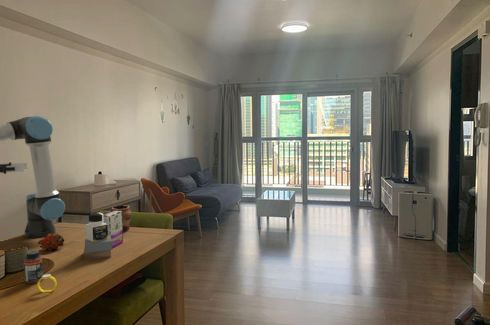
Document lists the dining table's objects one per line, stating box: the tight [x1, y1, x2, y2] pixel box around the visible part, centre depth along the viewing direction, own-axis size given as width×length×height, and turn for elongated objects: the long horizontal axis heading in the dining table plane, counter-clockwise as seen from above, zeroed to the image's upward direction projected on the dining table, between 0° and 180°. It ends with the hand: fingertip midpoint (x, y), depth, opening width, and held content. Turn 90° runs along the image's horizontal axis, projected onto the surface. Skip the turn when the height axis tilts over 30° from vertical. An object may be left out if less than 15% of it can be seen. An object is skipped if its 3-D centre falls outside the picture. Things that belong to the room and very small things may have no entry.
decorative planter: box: [109, 204, 132, 232], centre depth 207 cm, size 20×12×14 cm, turn 9°
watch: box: [36, 273, 58, 294], centre depth 128 cm, size 6×3×6 cm, turn 100°
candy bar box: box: [103, 211, 124, 249], centre depth 180 cm, size 11×5×16 cm, turn 168°
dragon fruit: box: [37, 232, 65, 252], centre depth 175 cm, size 8×8×12 cm
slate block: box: [84, 235, 113, 253], centre depth 166 cm, size 11×11×4 cm
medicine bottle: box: [85, 212, 108, 242], centre depth 165 cm, size 7×7×12 cm
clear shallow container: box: [83, 247, 112, 261], centre depth 166 cm, size 11×11×4 cm
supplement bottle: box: [23, 250, 44, 285], centre depth 137 cm, size 6×6×11 cm
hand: (25, 167), depth 171 cm, fingers open, 13 cm apart
